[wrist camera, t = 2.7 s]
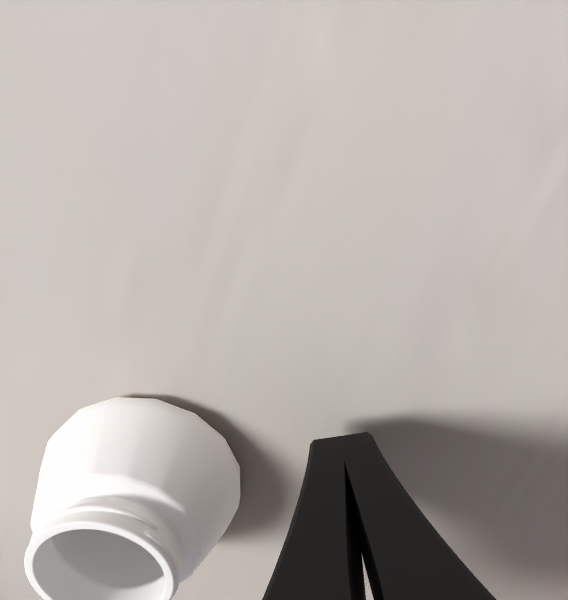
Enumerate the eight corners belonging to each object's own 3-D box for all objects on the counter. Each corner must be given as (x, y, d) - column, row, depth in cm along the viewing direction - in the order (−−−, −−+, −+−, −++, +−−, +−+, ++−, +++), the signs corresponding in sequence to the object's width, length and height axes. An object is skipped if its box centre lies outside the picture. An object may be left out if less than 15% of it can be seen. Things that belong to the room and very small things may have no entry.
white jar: (162, 555, 12) (279, 470, 10) (121, 679, 9) (275, 584, 7) (24, 460, 10) (137, 351, 9) (-74, 569, 8) (69, 435, 6)
